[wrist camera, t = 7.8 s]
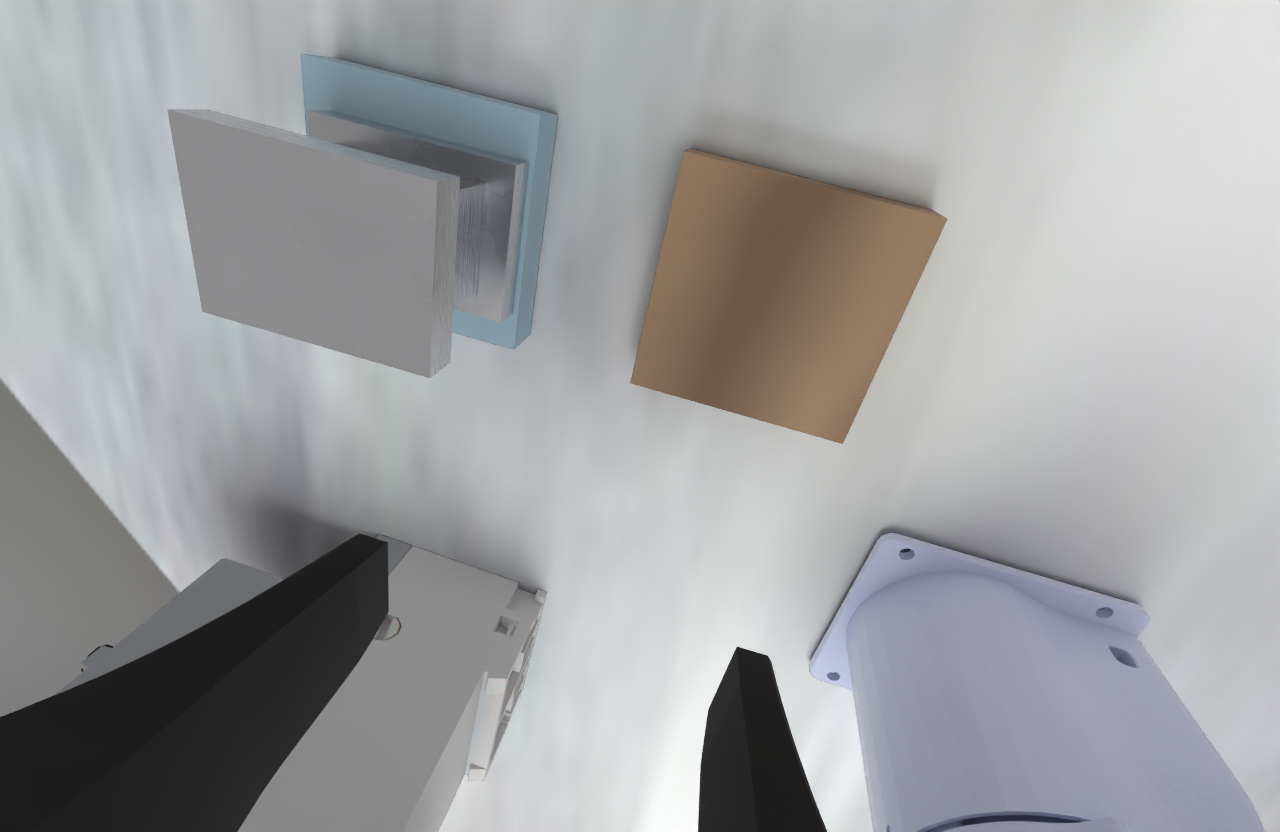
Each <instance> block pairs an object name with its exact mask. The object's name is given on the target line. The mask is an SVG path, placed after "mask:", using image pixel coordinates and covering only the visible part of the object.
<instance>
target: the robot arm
mask: <svg viewBox="0 0 1280 832" xmlns="http://www.w3.org/2000/svg"><path fill="white" fill-rule="evenodd" d="M906 548H907V549H911V550H910V551H909V552H906V553H902V552H900V551H901V550H903V549H906ZM1104 607H1106V608H1104ZM1100 608H1104V609H1101V610H1098V609H1100ZM388 612H389V590H388V542H386V541H382V540H379V539H376V538H372V537H369V536H366V535H362V534H358V535H356V536H354V537H353V538H351V539H349V540H348V541H346V542H344V543H343V544H341V545H340V546H338V547H336V548H335V549H333V550H331V551H330V552H328V553H327V554H325V555H323V556H322V557H320V558H319V559H317V560H315V561H314V562H312V563H310V564H309V565H307V566H306V567H304V568H302V569H301V570H299V571H297V572H296V573H294V574H292V575H291V576H289V577H288V578H286V579H284V580H283V581H281V582H279V583H277V584H276V585H274V586H272V587H271V588H269V589H267V590H265V591H264V592H262V593H260V594H259V595H257V596H255V597H254V598H252V599H250V600H248V601H247V602H245V603H243V604H242V605H240V606H238V607H236V608H234V609H233V610H231V611H229V612H227V613H225V614H223V615H222V616H220V617H218V618H216V619H214V620H212V621H210V622H209V623H207V624H205V625H203V626H201V627H199V628H197V629H196V630H194V631H192V632H190V633H188V634H186V635H184V636H182V637H181V638H179V639H177V640H175V641H173V642H171V643H169V644H167V645H165V646H163V647H161V648H159V649H157V650H155V651H153V652H151V653H148V654H146V655H144V656H142V657H140V658H138V659H136V660H134V661H132V662H129V663H127V664H125V665H123V666H121V667H119V668H117V669H115V670H112V671H110V672H108V673H106V674H103V675H101V676H99V677H97V678H94V679H92V680H90V681H87V682H85V683H83V684H80V685H78V686H76V687H73V688H71V689H69V690H66V691H64V692H61V693H59V694H57V695H54V696H52V697H49V698H47V699H45V700H42V701H40V702H37V703H35V704H32V705H30V706H28V707H25V708H23V709H20V710H18V711H15V712H13V713H10V714H7V715H5V716H2V717H0V832H238V830H239V829H240V827H241V825H242V824H243V822H244V821H245V819H246V818H247V816H248V814H249V813H250V811H251V810H252V808H253V806H254V805H255V803H256V802H257V800H258V799H259V797H260V795H261V794H262V792H263V791H264V789H265V788H266V786H267V785H268V784H269V782H270V781H271V779H272V778H273V776H274V775H275V774H276V772H277V771H278V769H279V768H280V766H281V765H282V764H283V762H284V761H285V760H286V758H287V757H288V756H289V754H290V753H291V752H292V750H293V749H294V748H295V746H296V745H297V744H298V742H299V741H300V740H301V738H302V737H303V736H304V734H305V733H306V732H307V731H308V729H309V728H310V727H311V725H312V724H313V723H314V721H315V720H316V719H317V717H318V716H319V715H320V713H321V712H322V711H323V709H324V708H325V707H326V705H327V704H328V703H329V701H330V700H331V699H332V697H333V696H334V695H335V693H336V692H337V691H338V689H339V688H340V687H341V685H342V684H343V683H344V681H345V680H346V679H347V677H348V676H349V674H350V673H351V672H352V670H353V669H354V668H355V666H356V665H357V664H358V662H359V661H360V659H361V658H362V656H363V655H364V653H365V651H366V650H367V648H368V646H369V645H370V643H371V641H372V640H373V638H374V636H375V635H376V633H377V631H378V629H379V628H380V626H381V624H382V622H383V621H384V619H385V617H386V615H387V614H388ZM1149 621H1150V617H1149V615H1148V614H1147V613H1146V611H1145V610H1144V609H1143V607H1142V606H1140V605H1137V604H1134V603H1131V602H1128V601H1124V600H1121V599H1117V598H1114V597H1111V596H1107V595H1104V594H1100V593H1097V592H1094V591H1090V590H1087V589H1083V588H1080V587H1077V586H1073V585H1070V584H1066V583H1063V582H1060V581H1056V580H1053V579H1049V578H1046V577H1043V576H1039V575H1036V574H1032V573H1029V572H1026V571H1022V570H1019V569H1015V568H1012V567H1009V566H1005V565H1002V564H998V563H995V562H992V561H988V560H985V559H981V558H978V557H975V556H971V555H968V554H964V553H961V552H958V551H954V550H951V549H947V548H944V547H941V546H937V545H934V544H930V543H927V542H924V541H920V540H917V539H913V538H910V537H907V536H903V535H900V534H896V533H888V534H884V535H882V536H881V537H880V538H879V539H878V540H877V542H876V544H875V546H874V547H873V549H872V551H871V553H870V555H869V556H868V558H867V560H866V562H865V564H864V565H863V567H862V569H861V571H860V573H859V574H858V576H857V578H856V580H855V582H854V583H853V585H852V587H851V589H850V591H849V592H848V594H847V596H846V598H845V600H844V601H843V603H842V605H841V607H840V608H839V610H838V612H837V614H836V616H835V617H834V619H833V621H832V623H831V625H830V626H829V628H828V630H827V632H826V634H825V635H824V637H823V639H822V641H821V643H820V644H819V646H818V648H817V650H816V652H815V653H814V655H813V657H812V659H811V661H810V663H809V671H810V674H811V675H812V676H813V677H814V678H816V679H818V680H822V681H825V682H828V683H831V684H834V685H838V686H841V687H844V688H847V689H850V690H853V695H854V702H855V709H856V715H857V722H858V729H859V736H860V743H861V750H862V756H863V763H864V770H865V777H866V784H867V790H868V797H869V804H870V811H871V818H872V825H873V831H874V832H1265V831H1264V828H1263V825H1262V822H1261V820H1260V818H1259V816H1258V814H1257V812H1256V810H1255V808H1254V806H1253V804H1252V802H1251V800H1250V799H1249V797H1248V796H1247V794H1246V792H1245V791H1244V789H1243V788H1242V786H1241V785H1240V783H1239V782H1238V780H1237V779H1236V778H1235V776H1234V775H1233V773H1232V772H1231V770H1230V769H1229V768H1228V766H1227V765H1226V763H1225V762H1224V760H1223V759H1222V758H1221V756H1220V755H1219V753H1218V752H1217V751H1216V749H1215V748H1214V746H1213V745H1212V743H1211V742H1210V741H1209V739H1208V738H1207V736H1206V735H1205V733H1204V732H1203V731H1202V729H1201V728H1200V726H1199V725H1198V723H1197V722H1196V721H1195V719H1194V718H1193V716H1192V715H1191V714H1190V712H1189V711H1188V709H1187V708H1186V706H1185V705H1184V704H1183V702H1182V701H1181V699H1180V698H1179V696H1178V695H1177V694H1176V692H1175V691H1174V689H1173V688H1172V687H1171V685H1170V684H1169V682H1168V681H1167V679H1166V678H1165V677H1164V675H1163V674H1162V672H1161V671H1160V669H1159V668H1158V667H1157V665H1156V664H1155V662H1154V661H1153V659H1152V658H1151V657H1150V655H1149V654H1148V652H1147V651H1146V650H1145V648H1144V647H1143V645H1142V644H1141V642H1140V641H1139V640H1138V638H1137V637H1136V636H1137V635H1138V634H1139V633H1140V632H1141V631H1142V630H1143V629H1144V628H1145V627H1146V626H1147V625H1148V623H1149ZM832 672H835V673H832ZM698 832H827V830H826V828H825V825H824V823H823V820H822V818H821V815H820V813H819V810H818V807H817V805H816V802H815V800H814V797H813V794H812V792H811V789H810V786H809V783H808V780H807V778H806V775H805V772H804V769H803V766H802V763H801V760H800V758H799V755H798V752H797V749H796V746H795V743H794V740H793V737H792V734H791V731H790V727H789V724H788V721H787V718H786V714H785V711H784V708H783V704H782V701H781V697H780V694H779V690H778V686H777V683H776V679H775V675H774V671H773V667H772V663H771V660H770V659H769V657H768V656H766V655H763V654H760V653H756V652H753V651H750V650H746V649H743V648H740V647H737V648H736V650H735V652H734V654H733V657H732V659H731V661H730V663H729V665H728V668H727V670H726V672H725V674H724V676H723V679H722V681H721V683H720V685H719V687H718V690H717V692H716V694H715V696H714V698H713V701H712V703H711V705H710V707H709V710H708V717H707V724H706V730H705V737H704V745H703V752H702V760H701V773H700V797H699V823H698Z"/></svg>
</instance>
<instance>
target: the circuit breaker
mask: <svg viewBox="0 0 1280 832" xmlns="http://www.w3.org/2000/svg"><path fill="white" fill-rule="evenodd" d="M376 539H379V540H382V541H386V542H388V590H389V612H388V614H387V615H386V617H385V619H384V621H383V622H382V624H381V626H380V628H379V629H378V631H377V633H376V635H375V636H374V638H373V640H372V641H371V643H370V645H369V646H368V648H367V650H366V651H365V653H364V655H363V656H362V658H361V659H360V661H359V662H358V664H357V665H356V666H355V668H354V669H353V670H352V672H351V673H350V674H349V676H348V677H347V679H346V680H345V681H344V683H343V684H342V685H341V687H340V688H339V689H338V691H337V692H336V693H335V695H334V696H333V697H332V699H331V700H330V701H329V703H328V704H327V705H326V707H325V708H324V709H323V711H322V712H321V713H320V715H319V716H318V717H317V719H316V720H315V721H314V723H313V724H312V725H311V727H310V728H309V729H308V731H307V732H306V733H305V734H304V736H303V737H302V738H301V740H300V741H299V742H298V744H297V745H296V746H295V748H294V749H293V750H292V752H291V753H290V754H289V756H288V757H287V758H286V760H285V761H284V762H283V764H282V765H281V766H280V768H279V769H278V771H277V772H276V774H275V775H274V776H273V778H272V779H271V781H270V782H269V784H268V785H267V786H266V788H265V789H264V791H263V792H262V794H261V795H260V797H259V799H258V800H257V802H256V803H255V805H254V806H253V808H252V810H251V811H250V813H249V814H248V816H247V818H246V819H245V821H244V822H243V824H242V825H241V827H240V829H239V830H238V832H438V831H439V829H440V827H441V825H442V823H443V820H444V818H445V816H446V814H447V812H448V809H449V807H450V805H451V803H452V801H453V799H454V796H455V794H456V792H457V790H458V788H459V785H460V783H461V781H462V779H463V777H464V775H468V781H484V780H485V777H486V775H487V773H488V770H489V768H490V766H491V763H492V761H493V759H494V756H495V754H496V752H497V749H498V747H499V745H500V742H501V740H502V737H503V735H504V733H505V730H506V728H507V726H508V723H509V721H510V718H511V714H512V712H513V710H514V707H515V705H516V703H517V700H518V698H520V695H521V693H522V690H523V686H524V682H525V678H526V674H527V670H528V666H529V662H530V658H531V654H532V650H533V646H534V642H535V638H536V634H537V630H538V626H539V622H540V618H541V614H542V610H543V606H544V602H545V598H546V594H547V592H545V591H542V590H539V589H538V590H537V592H536V595H535V594H532V593H530V592H527V591H524V590H521V589H518V586H519V582H516V581H513V580H510V579H507V578H504V577H501V576H499V575H496V574H493V573H490V572H487V571H484V570H481V569H478V568H476V567H473V566H470V565H467V564H464V563H461V562H458V561H455V560H453V559H450V558H447V557H444V556H441V555H438V554H435V553H432V552H430V551H427V550H424V549H421V548H418V547H415V546H413V547H412V545H409V544H406V543H403V542H401V541H398V540H395V539H392V538H389V537H386V536H383V535H378V536H377V537H376ZM283 580H284V579H283V578H281V577H278V576H275V575H272V574H269V573H266V572H263V571H260V570H258V569H255V568H252V567H249V566H246V565H243V564H240V563H237V562H235V561H232V560H229V559H226V558H225V559H221V560H220V561H219V562H217V563H216V564H215V565H214V566H212V567H211V568H210V569H209V570H208V571H206V572H205V573H204V574H203V575H201V576H200V577H199V578H198V579H196V580H195V581H194V582H193V583H192V584H190V585H189V586H188V587H187V588H185V589H184V590H183V591H182V592H181V593H179V594H178V595H177V596H176V597H174V598H173V599H172V600H171V601H170V602H168V603H167V604H166V605H165V606H163V607H162V608H161V609H160V610H158V611H157V612H156V613H155V614H154V615H152V616H151V617H150V618H149V619H147V620H146V621H145V624H141V625H140V626H139V627H138V628H136V629H135V630H134V631H133V632H131V633H130V634H129V635H128V636H127V637H125V638H124V639H123V640H122V641H121V642H119V643H118V644H117V645H116V646H114V647H113V646H110V645H108V644H107V645H103V646H100V647H98V648H97V649H95V650H94V651H93V652H92V653H91V654H89V655H88V657H87V658H86V659H85V660H84V661H82V662H81V666H82V669H81V670H82V673H81V674H80V675H79V676H78V677H76V678H75V679H74V680H73V681H72V682H70V683H69V684H68V685H67V686H65V687H64V688H63V689H62V690H60V691H59V692H58V693H57V694H59V693H61V692H64V691H66V690H69V689H71V688H73V687H76V686H78V685H80V684H83V683H85V682H87V681H90V680H92V679H94V678H97V677H99V676H101V675H103V674H106V673H108V672H110V671H112V670H115V669H117V668H119V667H121V666H123V665H125V664H127V663H129V662H132V661H134V660H136V659H138V658H140V657H142V656H144V655H146V654H148V653H151V652H153V651H155V650H157V649H159V648H161V647H163V646H165V645H167V644H169V643H171V642H173V641H175V640H177V639H179V638H181V637H182V636H184V635H186V634H188V633H190V632H192V631H194V630H196V629H197V628H199V627H201V626H203V625H205V624H207V623H209V622H210V621H212V620H214V619H216V618H218V617H220V616H222V615H223V614H225V613H227V612H229V611H231V610H233V609H234V608H236V607H238V606H240V605H242V604H243V603H245V602H247V601H248V600H250V599H252V598H254V597H255V596H257V595H259V594H260V593H262V592H264V591H265V590H267V589H269V588H271V587H272V586H274V585H276V584H277V583H279V582H281V581H283ZM57 694H56V695H57Z"/></svg>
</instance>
